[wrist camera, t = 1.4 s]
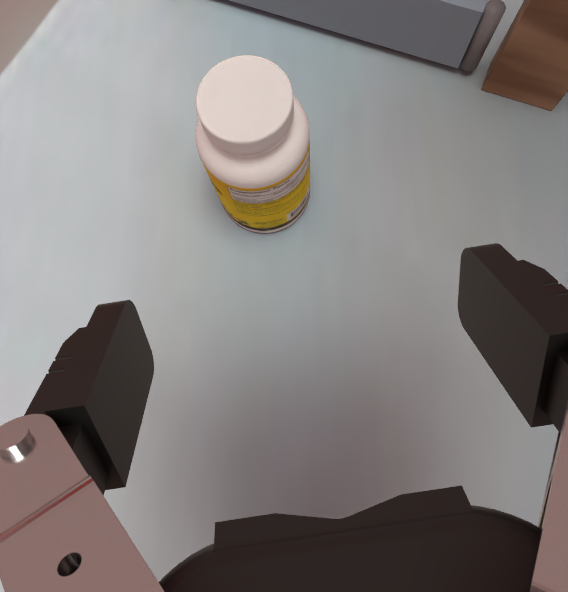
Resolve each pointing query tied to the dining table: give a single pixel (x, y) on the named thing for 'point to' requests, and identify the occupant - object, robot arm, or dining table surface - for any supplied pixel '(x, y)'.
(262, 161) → the pill bottle
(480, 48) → the gate
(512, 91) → the wooden blocks
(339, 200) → the dining table surface
